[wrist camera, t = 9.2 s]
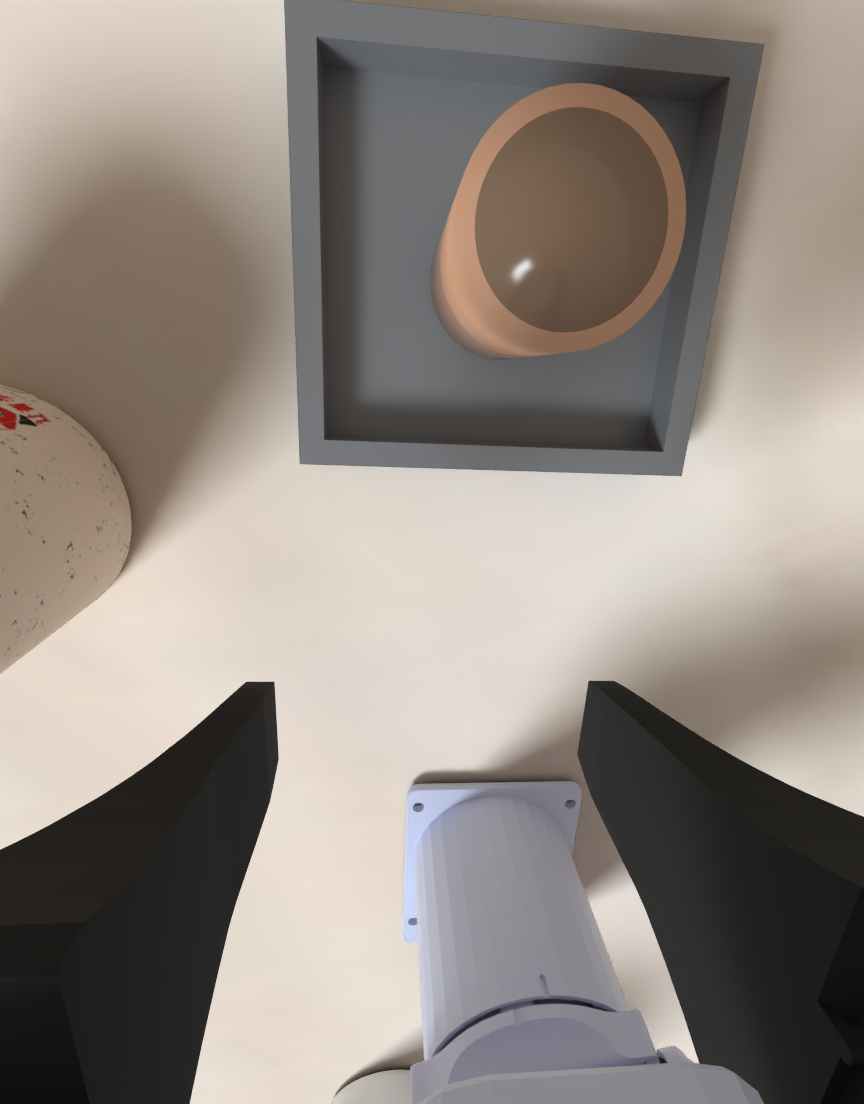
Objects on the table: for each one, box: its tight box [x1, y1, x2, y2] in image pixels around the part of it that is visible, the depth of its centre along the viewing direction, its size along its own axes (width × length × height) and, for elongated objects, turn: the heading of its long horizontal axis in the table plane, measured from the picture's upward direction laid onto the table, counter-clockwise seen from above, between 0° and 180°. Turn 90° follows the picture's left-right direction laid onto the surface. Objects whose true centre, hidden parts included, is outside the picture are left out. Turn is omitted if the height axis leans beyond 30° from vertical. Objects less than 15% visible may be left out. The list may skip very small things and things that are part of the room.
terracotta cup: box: [430, 83, 686, 360], centre depth 14 cm, size 5×5×7 cm
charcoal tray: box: [284, 0, 764, 476], centre depth 17 cm, size 12×13×2 cm
